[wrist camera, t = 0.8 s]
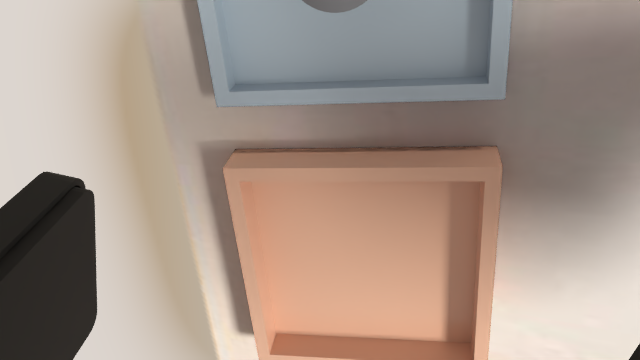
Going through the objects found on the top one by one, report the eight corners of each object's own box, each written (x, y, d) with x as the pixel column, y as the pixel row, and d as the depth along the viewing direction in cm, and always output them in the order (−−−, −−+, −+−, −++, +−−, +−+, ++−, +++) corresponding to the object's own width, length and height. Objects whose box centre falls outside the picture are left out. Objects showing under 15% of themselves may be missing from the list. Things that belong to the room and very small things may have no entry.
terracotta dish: (496, 146, 36) (502, 167, 34) (482, 347, 45) (486, 376, 42) (235, 149, 40) (222, 168, 37) (268, 336, 48) (259, 362, 46)
